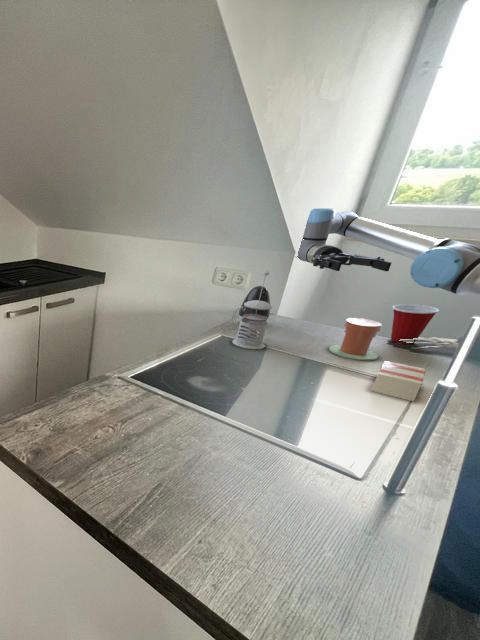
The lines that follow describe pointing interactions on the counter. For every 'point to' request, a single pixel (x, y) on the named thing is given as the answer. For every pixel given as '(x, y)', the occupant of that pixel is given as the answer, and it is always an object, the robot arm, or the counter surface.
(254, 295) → the black rounded piece
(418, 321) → the plastic cup
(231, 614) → the counter surface
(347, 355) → the mat
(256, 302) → the french press
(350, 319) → the terracotta pot
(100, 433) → the counter surface
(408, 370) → the box with red stripes
